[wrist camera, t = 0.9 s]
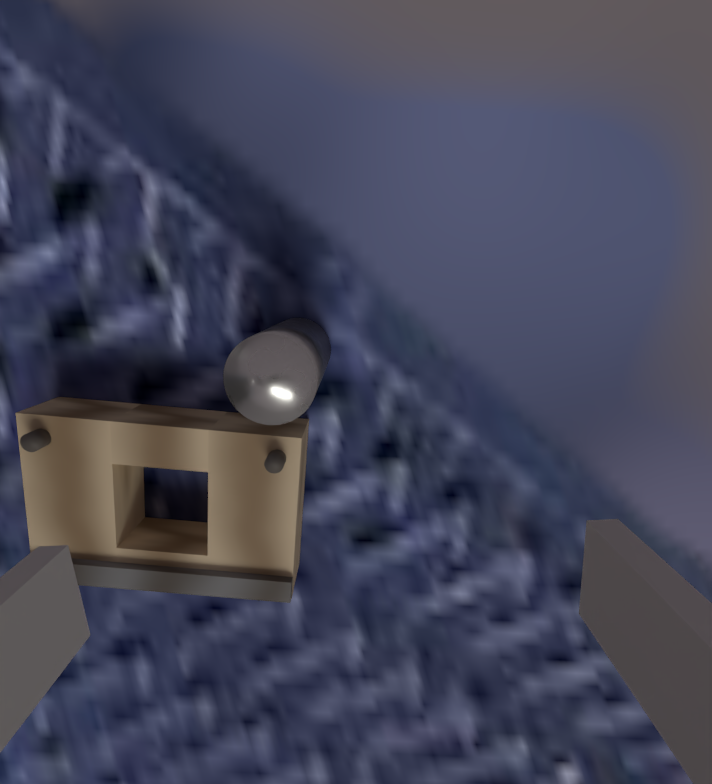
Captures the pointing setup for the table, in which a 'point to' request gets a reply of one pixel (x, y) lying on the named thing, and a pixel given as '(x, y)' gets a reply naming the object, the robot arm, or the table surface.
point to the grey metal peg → (277, 371)
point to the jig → (127, 504)
